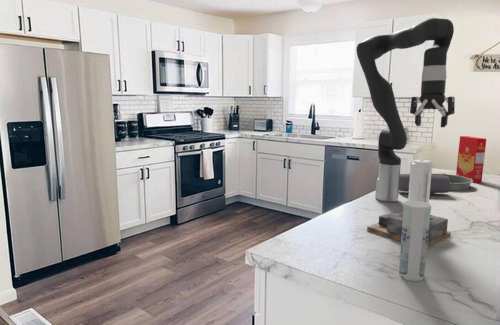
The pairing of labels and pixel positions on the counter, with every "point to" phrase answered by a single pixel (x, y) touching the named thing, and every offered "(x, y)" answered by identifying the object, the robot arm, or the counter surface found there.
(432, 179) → the bluetooth speaker
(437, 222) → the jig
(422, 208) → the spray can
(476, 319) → the counter surface
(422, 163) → the paper towel roll
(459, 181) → the cake pan
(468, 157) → the food packaging
